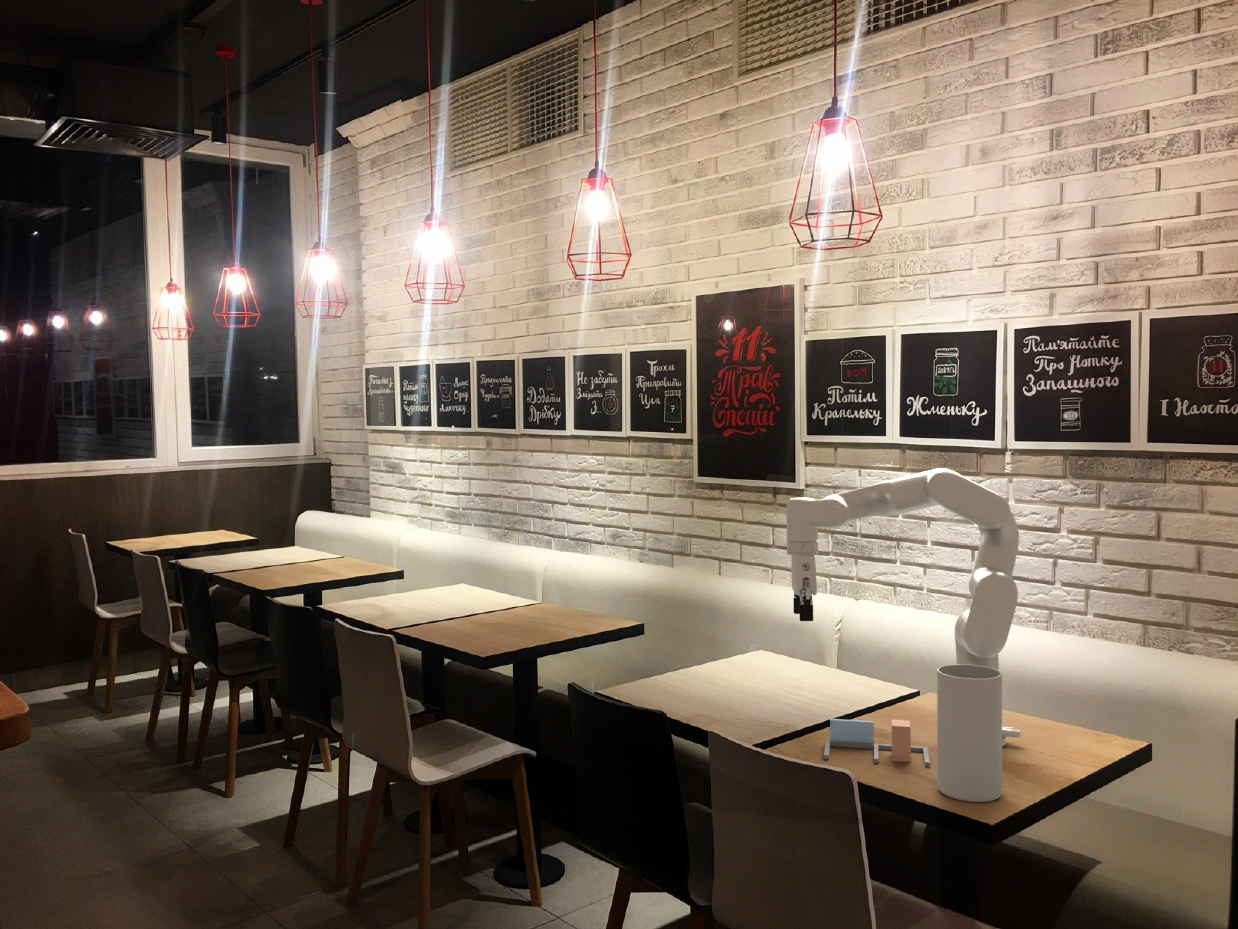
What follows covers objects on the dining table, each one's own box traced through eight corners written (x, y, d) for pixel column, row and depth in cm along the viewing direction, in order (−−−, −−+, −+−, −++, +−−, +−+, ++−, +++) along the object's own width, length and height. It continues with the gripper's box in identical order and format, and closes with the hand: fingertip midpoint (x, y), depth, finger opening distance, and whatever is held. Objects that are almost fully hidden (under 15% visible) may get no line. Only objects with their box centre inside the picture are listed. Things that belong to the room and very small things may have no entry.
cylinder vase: (1012, 791, 199) (1012, 670, 198) (986, 808, 190) (985, 682, 190) (954, 777, 208) (953, 661, 207) (926, 793, 199) (926, 672, 198)
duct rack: (927, 750, 226) (926, 724, 226) (929, 767, 214) (929, 740, 214) (826, 743, 232) (826, 718, 231) (823, 759, 220) (823, 733, 220)
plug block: (909, 755, 223) (909, 720, 222) (910, 762, 218) (910, 727, 218) (891, 754, 224) (891, 719, 223) (892, 761, 219) (892, 725, 219)
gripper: (824, 552, 229) (824, 623, 230) (811, 544, 247) (812, 610, 247) (792, 552, 230) (793, 624, 230) (782, 544, 247) (783, 611, 247)
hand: (803, 617), depth 239 cm, fingers open, 9 cm apart
